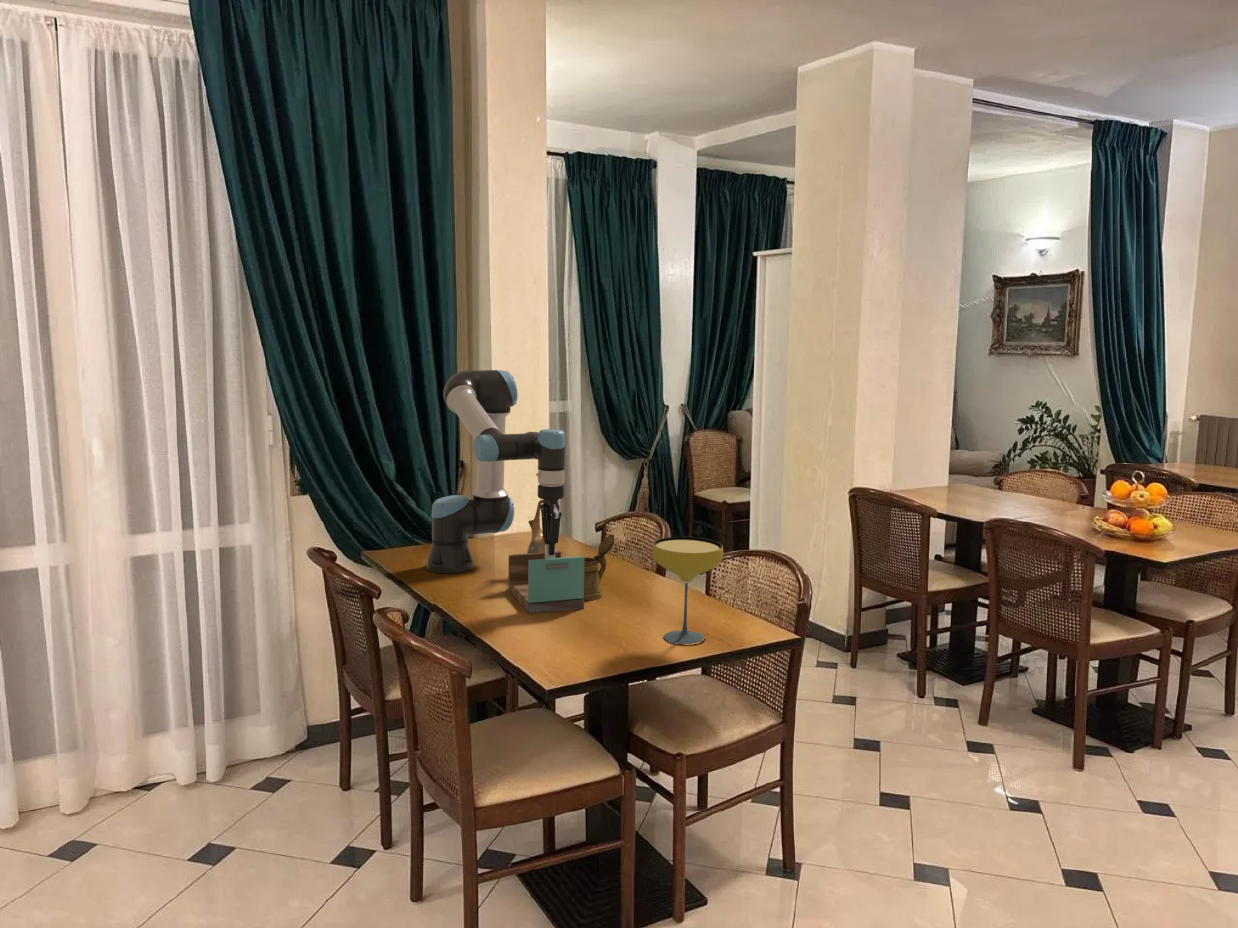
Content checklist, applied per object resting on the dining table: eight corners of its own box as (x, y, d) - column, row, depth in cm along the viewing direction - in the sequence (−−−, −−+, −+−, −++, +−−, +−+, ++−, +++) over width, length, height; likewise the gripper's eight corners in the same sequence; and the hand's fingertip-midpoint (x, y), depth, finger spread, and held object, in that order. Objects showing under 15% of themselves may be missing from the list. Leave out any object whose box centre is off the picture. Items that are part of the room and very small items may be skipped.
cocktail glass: (733, 638, 236) (737, 545, 232) (691, 656, 223) (694, 557, 219) (678, 622, 248) (681, 533, 244) (635, 638, 235) (638, 544, 231)
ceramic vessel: (518, 571, 295) (518, 496, 291) (543, 568, 300) (544, 494, 296) (540, 584, 281) (541, 505, 277) (566, 580, 286) (567, 502, 282)
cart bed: (508, 589, 274) (508, 554, 273) (558, 585, 280) (559, 551, 278) (529, 613, 252) (529, 575, 251) (583, 608, 258) (584, 571, 256)
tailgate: (528, 601, 253) (528, 559, 251) (582, 596, 259) (583, 556, 257) (529, 603, 251) (530, 561, 250) (584, 598, 257) (585, 557, 255)
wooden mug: (620, 595, 271) (621, 537, 268) (580, 601, 264) (581, 541, 262) (605, 588, 279) (606, 531, 276) (566, 593, 272) (567, 535, 269)
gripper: (532, 480, 261) (531, 560, 265) (544, 488, 249) (543, 571, 253) (556, 479, 264) (555, 558, 268) (570, 487, 252) (569, 569, 256)
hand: (550, 565), depth 260 cm, fingers closed
